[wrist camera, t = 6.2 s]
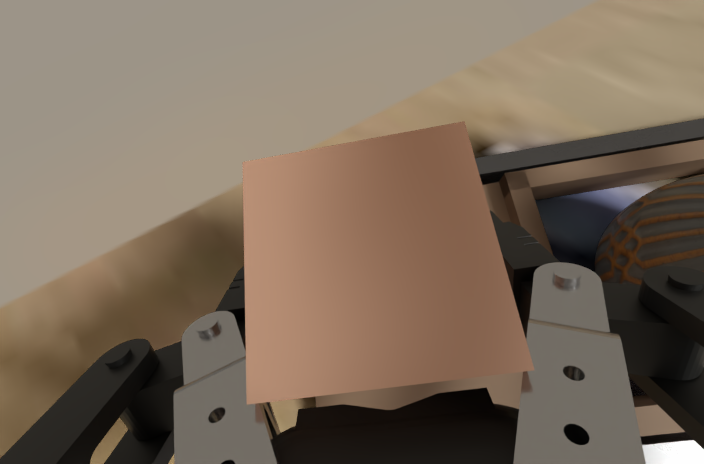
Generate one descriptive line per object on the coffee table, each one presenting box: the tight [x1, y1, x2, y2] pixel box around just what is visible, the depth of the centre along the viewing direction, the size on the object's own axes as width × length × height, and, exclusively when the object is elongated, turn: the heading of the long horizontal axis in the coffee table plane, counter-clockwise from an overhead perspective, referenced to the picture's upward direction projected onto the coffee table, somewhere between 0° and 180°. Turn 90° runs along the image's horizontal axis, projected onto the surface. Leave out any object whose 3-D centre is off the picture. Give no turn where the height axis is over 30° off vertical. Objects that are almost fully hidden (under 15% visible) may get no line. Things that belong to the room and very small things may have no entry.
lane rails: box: [475, 119, 704, 464], centre depth 16 cm, size 24×15×2 cm, turn 97°
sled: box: [243, 122, 704, 436], centre depth 11 cm, size 23×12×13 cm, turn 97°
